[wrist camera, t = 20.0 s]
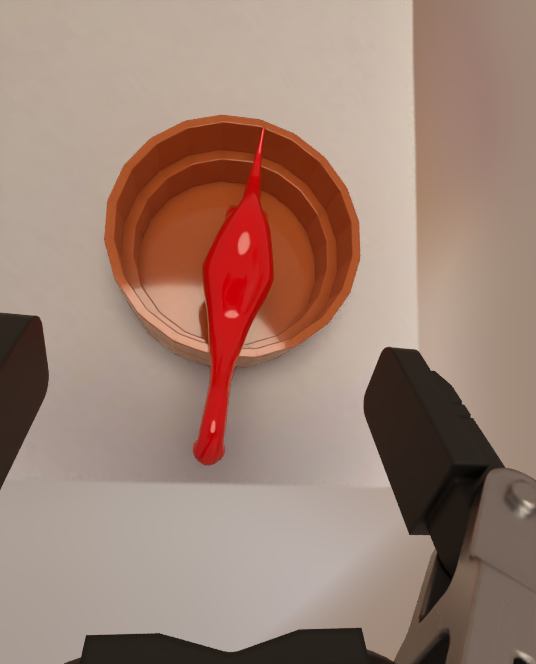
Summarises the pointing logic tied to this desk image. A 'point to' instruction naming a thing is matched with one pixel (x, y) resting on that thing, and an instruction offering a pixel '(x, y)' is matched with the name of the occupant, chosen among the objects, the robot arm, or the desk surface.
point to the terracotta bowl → (205, 221)
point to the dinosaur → (233, 301)
